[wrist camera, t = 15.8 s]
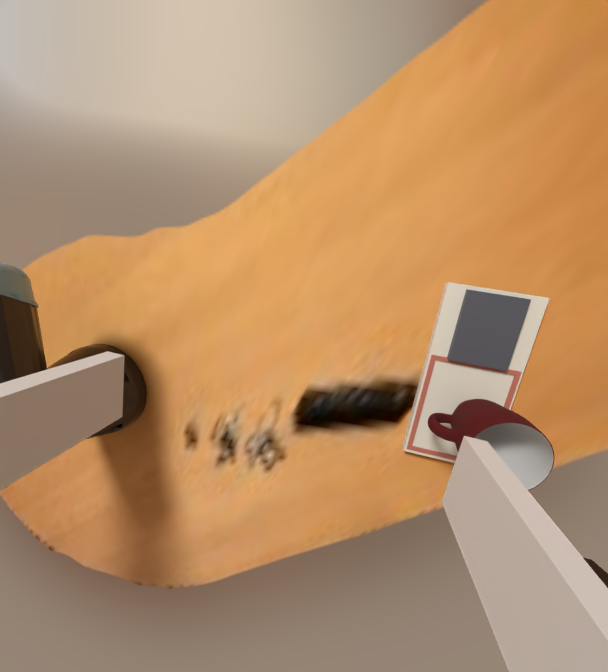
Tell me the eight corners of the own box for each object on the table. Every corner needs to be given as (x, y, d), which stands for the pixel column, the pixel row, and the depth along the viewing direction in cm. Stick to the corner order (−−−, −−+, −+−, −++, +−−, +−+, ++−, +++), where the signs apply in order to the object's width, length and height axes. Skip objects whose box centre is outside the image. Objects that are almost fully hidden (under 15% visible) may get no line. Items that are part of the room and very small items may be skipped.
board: (402, 446, 42) (404, 454, 40) (445, 282, 37) (450, 282, 35) (485, 465, 41) (491, 475, 39) (542, 297, 35) (553, 298, 33)
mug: (418, 437, 40) (437, 488, 31) (420, 383, 39) (441, 418, 29) (501, 443, 38) (549, 498, 29) (507, 385, 37) (560, 424, 27)
